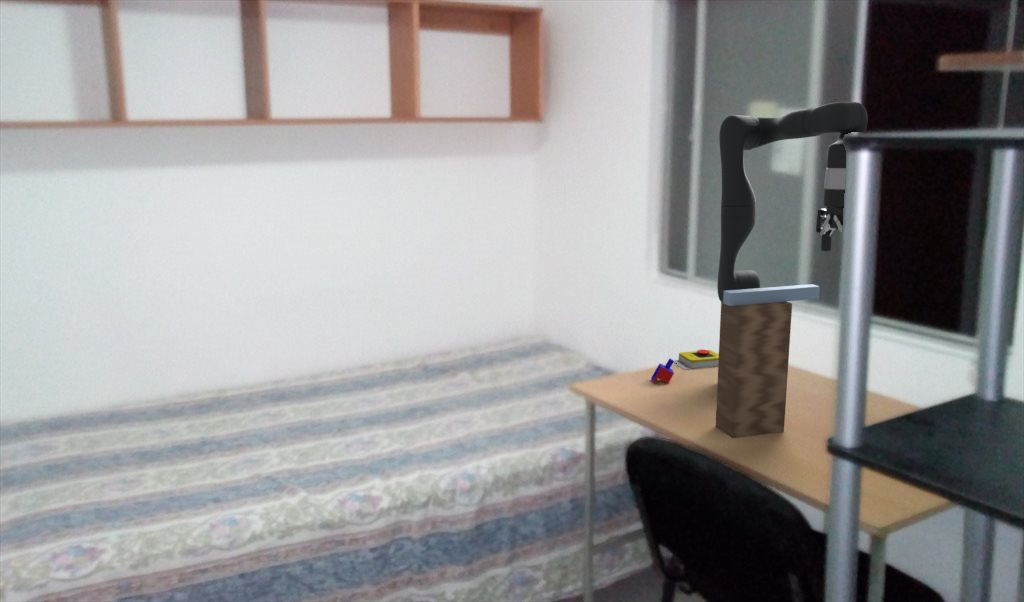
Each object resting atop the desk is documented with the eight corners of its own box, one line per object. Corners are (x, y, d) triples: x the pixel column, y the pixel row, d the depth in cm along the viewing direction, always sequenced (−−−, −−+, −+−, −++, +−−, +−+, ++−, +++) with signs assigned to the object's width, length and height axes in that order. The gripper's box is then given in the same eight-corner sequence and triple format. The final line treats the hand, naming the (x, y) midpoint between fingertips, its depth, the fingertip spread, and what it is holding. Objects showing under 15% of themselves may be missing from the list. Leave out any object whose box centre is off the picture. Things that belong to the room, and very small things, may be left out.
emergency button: (729, 353, 247) (685, 357, 244) (728, 366, 248) (684, 371, 245) (714, 345, 256) (671, 349, 252) (714, 358, 257) (671, 362, 253)
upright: (765, 420, 203) (772, 296, 196) (783, 431, 195) (792, 303, 188) (715, 426, 199) (721, 300, 192) (732, 438, 192) (738, 307, 185)
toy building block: (665, 388, 233) (678, 365, 231) (652, 382, 232) (665, 358, 230) (663, 384, 236) (677, 361, 234) (650, 378, 236) (664, 354, 234)
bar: (811, 296, 196) (812, 284, 195) (819, 298, 193) (819, 286, 192) (723, 303, 190) (723, 290, 189) (729, 305, 187) (730, 293, 186)
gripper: (809, 185, 200) (805, 250, 203) (846, 189, 186) (841, 258, 190) (835, 184, 202) (831, 248, 205) (874, 188, 188) (869, 256, 191)
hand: (836, 253), depth 197 cm, fingers open, 8 cm apart
